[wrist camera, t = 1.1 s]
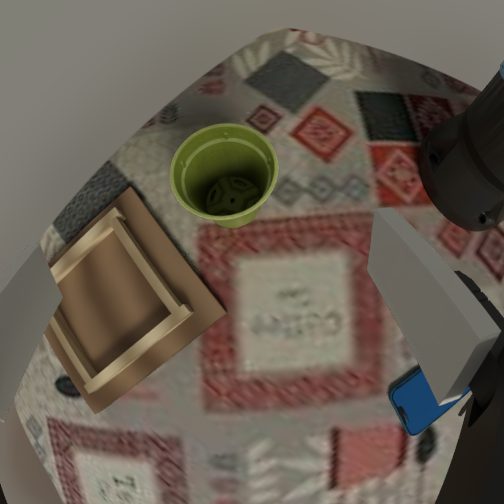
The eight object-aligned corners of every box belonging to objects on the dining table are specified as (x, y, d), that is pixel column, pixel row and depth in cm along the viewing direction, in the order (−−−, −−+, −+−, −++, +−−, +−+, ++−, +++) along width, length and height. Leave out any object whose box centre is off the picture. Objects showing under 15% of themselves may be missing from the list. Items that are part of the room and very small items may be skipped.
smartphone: (498, 363, 29) (411, 439, 28) (493, 362, 30) (408, 437, 29) (480, 316, 30) (387, 393, 29) (475, 316, 31) (384, 391, 30)
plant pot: (208, 155, 36) (192, 114, 28) (286, 175, 35) (290, 135, 27) (180, 229, 35) (153, 203, 26) (262, 253, 34) (259, 233, 25)
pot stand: (135, 190, 36) (123, 179, 32) (227, 312, 33) (223, 312, 29) (30, 292, 34) (13, 290, 31) (100, 411, 31) (86, 418, 28)
